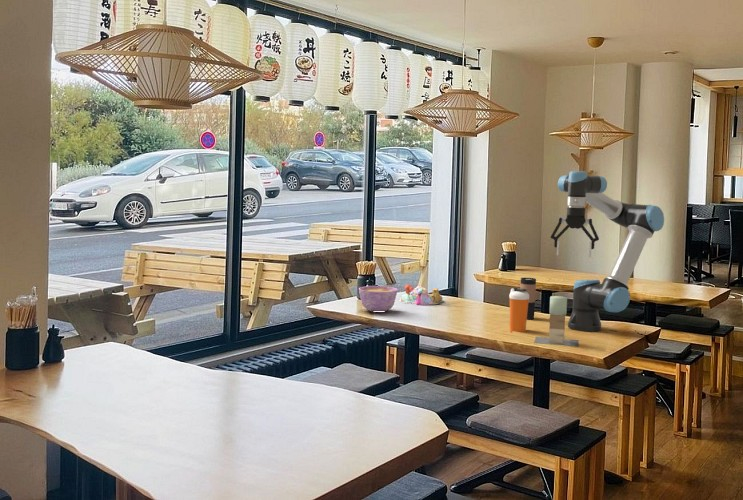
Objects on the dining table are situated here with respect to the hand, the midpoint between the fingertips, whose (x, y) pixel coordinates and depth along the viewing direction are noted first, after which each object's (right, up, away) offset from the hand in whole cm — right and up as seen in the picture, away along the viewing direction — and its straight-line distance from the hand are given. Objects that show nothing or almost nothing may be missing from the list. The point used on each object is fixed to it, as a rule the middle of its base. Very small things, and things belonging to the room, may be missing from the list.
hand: (573, 256), depth 332 cm
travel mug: (-10, -32, +49) cm, 59 cm away
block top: (-9, -30, -7) cm, 32 cm away
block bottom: (-9, -36, -6) cm, 38 cm away
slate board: (-9, -37, -6) cm, 39 cm away
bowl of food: (-85, -29, +59) cm, 107 cm away
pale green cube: (-9, -24, -8) cm, 27 cm away
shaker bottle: (-21, -35, +16) cm, 44 cm away
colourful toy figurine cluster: (-60, -27, +91) cm, 112 cm away
